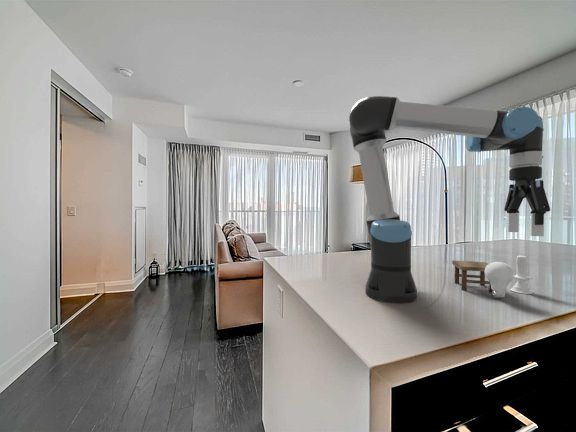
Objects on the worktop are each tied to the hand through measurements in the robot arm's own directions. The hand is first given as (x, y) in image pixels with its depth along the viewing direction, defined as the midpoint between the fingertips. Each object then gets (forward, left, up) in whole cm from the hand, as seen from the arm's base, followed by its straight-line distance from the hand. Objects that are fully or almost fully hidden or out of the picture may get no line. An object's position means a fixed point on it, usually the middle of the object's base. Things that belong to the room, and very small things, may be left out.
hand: (523, 234), depth 79 cm
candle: (0, 0, -19) cm, 19 cm away
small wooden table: (-13, 0, -19) cm, 23 cm away
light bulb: (-10, -10, -19) cm, 24 cm away
